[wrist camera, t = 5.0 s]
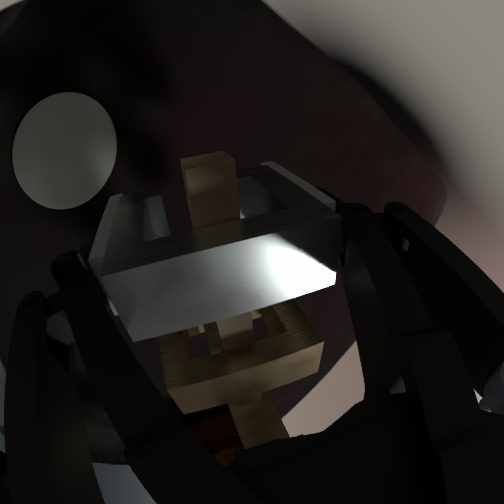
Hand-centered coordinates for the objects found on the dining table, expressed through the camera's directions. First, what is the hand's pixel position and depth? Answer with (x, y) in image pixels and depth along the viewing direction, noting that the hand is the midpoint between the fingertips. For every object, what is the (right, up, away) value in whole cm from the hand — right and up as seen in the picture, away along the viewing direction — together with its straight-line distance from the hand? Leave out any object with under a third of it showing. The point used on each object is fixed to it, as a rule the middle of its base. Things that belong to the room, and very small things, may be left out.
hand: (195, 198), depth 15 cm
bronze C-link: (+1, -6, +3) cm, 7 cm away
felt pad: (-12, +5, +2) cm, 14 cm away
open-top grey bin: (0, -1, -1) cm, 1 cm away
